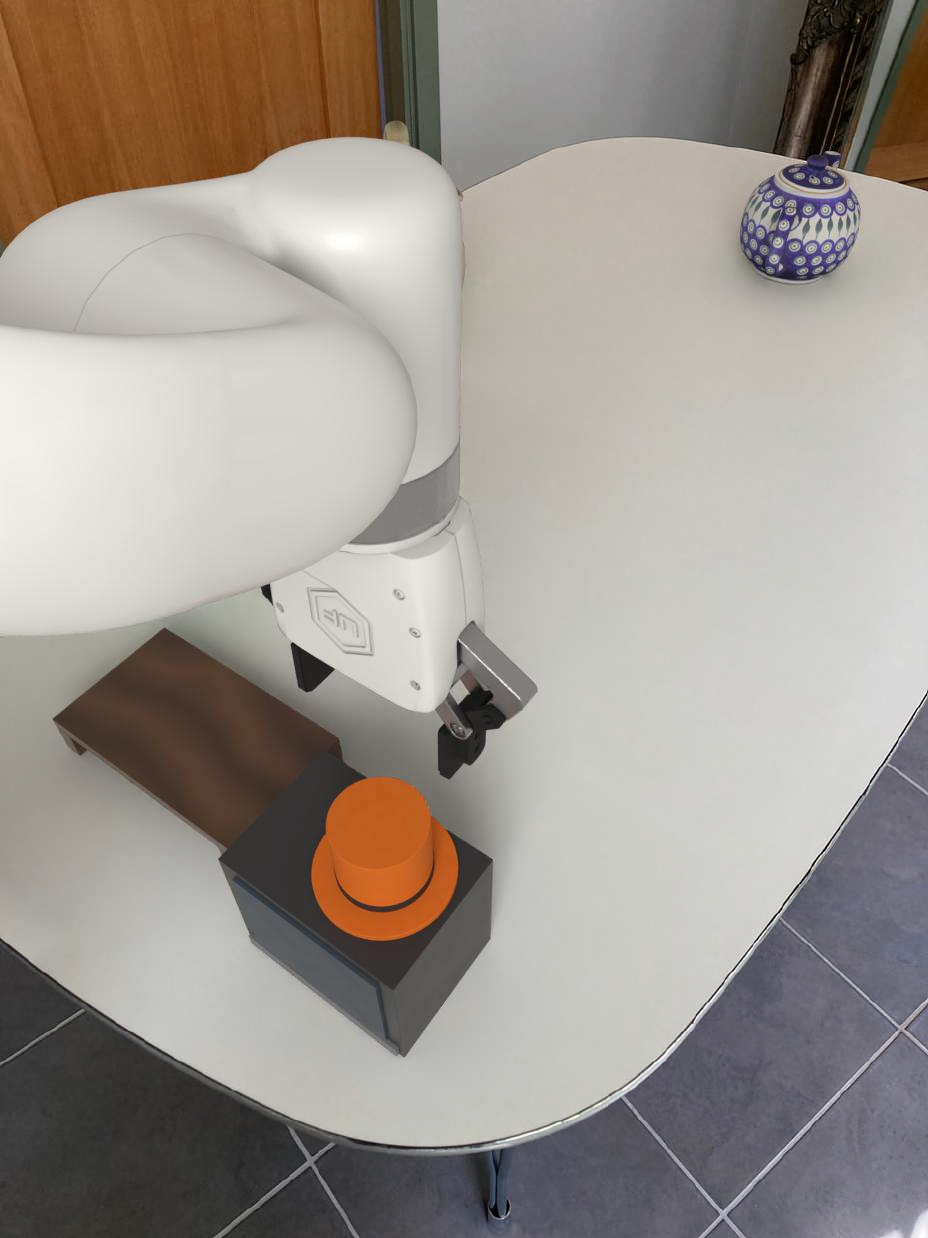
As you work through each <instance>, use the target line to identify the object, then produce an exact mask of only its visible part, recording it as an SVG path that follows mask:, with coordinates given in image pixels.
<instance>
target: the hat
mask: <svg viewBox="0 0 928 1238" xmlns="http://www.w3.org/2000/svg"><path fill="white" fill-rule="evenodd" d="M446 829H447V828H446ZM446 829H445V827H444V825H443V824H442V823H441V822H440V821H439V820H438V819H437V818H435V817H434V816H433V815H432V814H431V810H430V807H429V805H428V801H427V800H426V798H425V797H424V796H423V794H422V793H421V792H420V791H419V790H418V788H416V787H414V786H413V785H411V783H408V782H406V781H405V780H403V779H399V778H397V777H391V776H372V777H367V778H366V779H363V780H360V781H358V782H356V783H354V784H352V785H350V786H349V787H347V788H346V789H345V790H343V791H342V792H341V793H340V794H339V795H338V796H337V798H336V799H335V800H334V802H333V803H332V805H331V807H330V809H329V811H328V814H327V818H326V834H325V835H324V836H323V838H322V840H321V841H320V843H319V845H318V847H317V849H316V852H315V855H314V858H313V863H312V871H311V879H312V886H313V890H314V894H315V897H316V900H317V902H318V904H319V906H320V908H321V909H322V911H323V912H324V914H325V915H326V916H327V917H328V919H329V920H330V921H331V922H332V923H334V924H335V925H336V926H337V927H339V928H340V929H342V930H343V931H345V932H347V933H349V934H351V935H353V936H356V937H359V938H363V939H368V940H378V941H386V940H395V939H399V938H404V937H406V936H409V935H412V934H414V933H416V932H418V931H420V930H422V929H424V928H425V927H426V926H428V925H429V924H431V923H432V922H433V921H434V920H435V919H436V918H438V916H439V915H440V914H441V913H442V912H443V911H444V909H445V908H446V907H447V905H448V904H449V902H450V900H451V898H452V896H453V894H454V891H455V888H456V884H457V879H458V857H457V852H456V848H455V845H454V843H453V841H452V839H451V837H450V835H449V833H448V832H447V831H446Z"/></svg>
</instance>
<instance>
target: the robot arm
mask: <svg viewBox="0 0 928 1238" xmlns="http://www.w3.org/2000/svg"><path fill="white" fill-rule="evenodd" d="M456 188H457V187H456V185H455V182H454V181H453V179H452V178H451V176H450V175H449V173H448V172H447V171H446V169H445V167H443V166H442V165H441V164H440V163H439V162H438V161H437V160H435V159H434V158H433V157H431V156H430V155H429V154H428V153H425V152H423V151H422V150H420V149H418V148H415V147H414V146H411V145H410V146H408V145H405V144H401V143H398V142H393V141H388V140H384V139H382V138H373V137H362V136H341V137H339V136H338V137H331V138H330V137H329V138H322V139H317V140H316V139H315V140H309V141H306V142H302V143H298V144H295V145H291V146H289V147H286V148H283V149H281V150H278V151H277V152H275V153H274V154H272V155H269V156H268V157H267V158H265V159H264V160H263V161H262V162H261V163H259V164H258V165H257V166H256V167H255V168H253V169H252V170H250V171H246V172H242V173H237V174H231V175H226V176H222V177H215V178H208V179H203V180H195V181H189V182H182V183H177V184H175V183H174V184H167V185H160V186H151V187H144V188H137V189H136V188H135V189H129V190H122V191H116V192H115V191H114V192H109V193H103V194H98V195H95V196H90V197H86V198H83V199H80V200H77V201H74V202H71V203H68V204H64V205H62V206H59V207H58V208H55V209H53V210H51V211H50V212H47V213H46V214H44V215H42V216H41V217H39V218H38V219H36V220H34V221H33V222H32V223H30V224H28V226H26V227H25V228H24V229H23V230H22V231H21V232H19V234H17V235H16V236H15V237H14V239H13V240H12V241H10V243H9V244H8V246H7V247H6V248H4V249H5V250H4V251H3V252H2V254H1V256H0V637H32V638H33V637H54V636H68V635H69V636H70V635H81V634H82V635H83V634H84V635H85V634H92V633H98V632H105V631H112V630H118V629H125V628H130V627H134V626H138V625H143V624H146V623H152V622H155V621H159V620H162V619H165V618H166V619H167V618H170V617H172V616H175V615H179V614H182V613H184V612H187V611H190V610H194V609H197V608H200V607H202V606H206V605H209V604H212V603H215V602H218V601H221V600H225V599H229V598H231V597H234V596H238V595H241V594H243V593H246V592H249V591H253V590H256V589H258V588H260V590H261V594H262V596H263V597H264V598H265V599H267V601H268V602H269V603H270V604H271V605H272V607H273V611H274V615H275V618H276V619H275V620H276V622H277V626H278V628H279V631H280V632H281V634H283V636H284V637H286V638H287V639H288V640H290V641H291V642H290V650H291V655H292V661H293V667H294V672H295V678H296V683H297V687H298V688H299V690H302V691H303V692H305V693H312V692H313V691H315V690H316V689H317V688H318V687H319V686H320V685H321V684H322V683H323V682H324V681H325V680H326V679H327V678H328V677H329V676H330V675H331V674H332V673H333V672H334V671H335V670H336V671H338V672H339V673H341V674H343V675H345V676H347V678H350V679H351V680H353V681H355V682H357V683H359V684H360V685H362V686H363V687H365V688H367V689H368V690H370V691H372V692H373V693H375V694H377V695H379V696H381V697H382V698H384V699H385V700H387V701H389V702H392V703H393V704H394V705H398V707H401V708H403V709H405V710H409V711H412V712H416V713H423V714H429V713H432V712H434V711H435V712H436V713H437V715H438V716H439V718H440V720H441V721H442V722H443V723H442V724H441V726H440V727H439V728H438V731H437V771H438V772H439V775H440V776H442V777H443V778H444V779H447V780H448V781H449V780H451V779H452V778H453V777H454V776H455V775H456V774H457V772H458V771H459V770H460V768H461V767H462V766H463V765H464V764H465V765H467V766H468V767H471V766H472V765H474V763H475V762H476V761H477V760H478V758H480V756H481V755H482V753H483V751H484V750H485V747H486V741H487V731H492V730H499V729H500V728H501V727H502V726H503V725H504V724H505V723H506V722H507V721H510V720H512V718H514V717H515V716H516V715H518V714H519V713H520V712H522V711H523V710H524V709H525V708H526V707H527V706H528V704H529V703H530V702H531V700H532V699H534V697H535V696H536V695H537V693H538V692H539V689H538V686H537V684H536V683H535V682H534V681H533V680H532V679H531V678H530V677H529V676H528V675H527V674H526V673H525V672H524V671H523V670H522V669H521V668H520V667H519V666H518V665H517V664H515V662H514V661H512V659H510V658H509V656H507V655H506V654H505V652H503V651H502V650H501V649H500V648H499V647H498V646H497V645H496V644H495V643H494V641H492V640H491V639H490V638H489V637H488V636H487V635H486V634H485V633H486V610H485V609H486V603H485V602H486V601H485V586H484V577H483V566H482V559H481V553H480V546H479V541H478V537H477V530H476V526H475V522H474V517H473V513H472V510H471V509H472V508H471V506H470V503H469V502H468V501H467V500H466V499H465V498H463V497H462V496H461V495H460V490H461V488H460V487H461V399H462V398H461V391H462V390H461V386H462V385H461V384H462V383H461V382H462V379H461V378H462V369H461V368H462V366H461V365H462V303H463V302H462V301H463V300H462V299H463V298H462V296H463V295H462V294H463V288H462V239H463V237H464V235H463V233H464V232H463V210H462V205H461V202H460V200H459V196H458V192H457V190H456ZM459 681H461V683H462V684H463V686H464V688H465V689H466V690H467V692H468V693H467V694H466V695H465V696H464V698H463V699H462V700H461V701H460V702H459V703H458V702H457V701H456V699H455V698H454V695H452V693H451V692H450V691H451V690H452V688H454V686H455V685H456V684H457V683H458V682H459Z"/></svg>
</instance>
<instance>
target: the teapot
mask: <svg viewBox="0 0 928 1238" xmlns="http://www.w3.org/2000/svg"><path fill="white" fill-rule="evenodd" d="M842 157H843V155H842V154H841V153H840V152H837V151H834V150H833V151H832V150H827V151H824V152H823V154H822V155H821V154H811V155H810V156H808V157H807V159H806V162H793V163H789V164H785V165H782V166H780V167H779V168H777V169H776V171H775V173H774V174H773V175H771V176H770V177H768V178H766V179H764V180H763V181H762V182H760V183H759V184H758V186H756V187H755V188H754V190H753V191H752V192H751V194H750V196H749V198H748V199H747V202H746V204H745V206H744V210H743V214H742V217H741V221H740V228H739V229H740V231H739V243H740V248H741V251H742V254H744V256H745V257H746V259H747V260H748V261H749V262H750V266H751V268H752V269H753V271H754V272H755V273H757V274H758V275H759V276H761V277H763V278H765V279H767V280H771V281H774V282H777V283H782V284H788V285H789V284H790V285H807V284H811V283H815V282H817V281H818V280H820V279H821V278H823V277H824V276H825V275H828V274H830V273H831V272H833V271H835V270H836V269H838V268H839V267H841V265H842V264H843V263H844V262H845V261H846V260H847V258H848V257H849V255H850V253H851V251H852V249H853V248H854V245H855V243H856V240H857V238H858V235H859V231H860V224H861V216H862V213H861V205H860V202H859V199H858V197H857V195H856V194H855V192H854V191H853V190H852V188H851V187H850V186H851V181H850V179H849V177H848V175H846V173H844V172H843V171H841V170H839V169H838V168H839V165H840V162H841V160H842Z"/></svg>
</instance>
